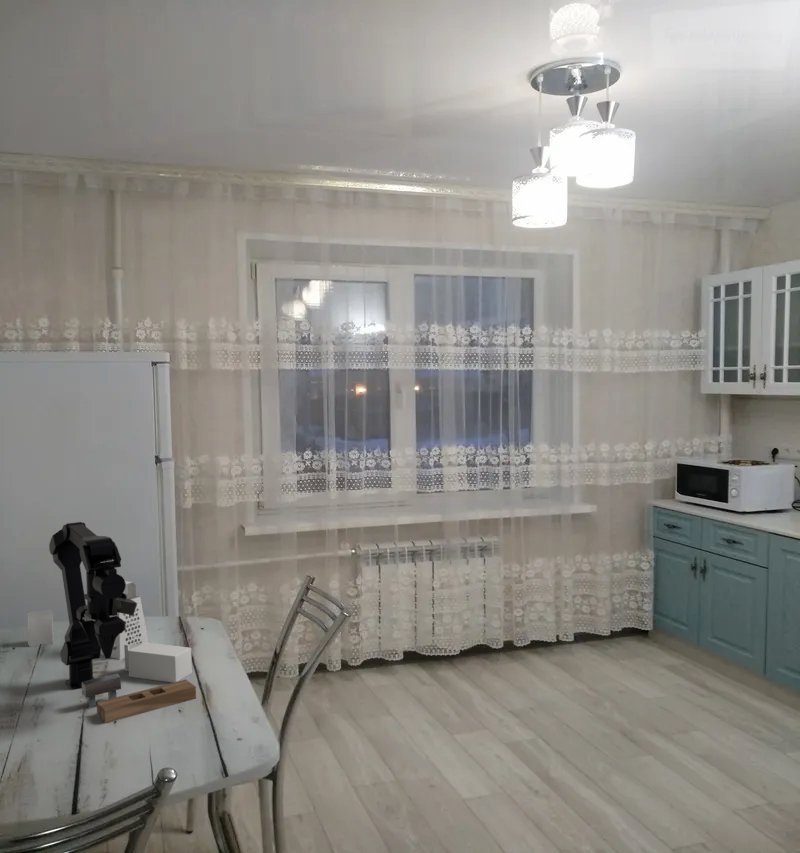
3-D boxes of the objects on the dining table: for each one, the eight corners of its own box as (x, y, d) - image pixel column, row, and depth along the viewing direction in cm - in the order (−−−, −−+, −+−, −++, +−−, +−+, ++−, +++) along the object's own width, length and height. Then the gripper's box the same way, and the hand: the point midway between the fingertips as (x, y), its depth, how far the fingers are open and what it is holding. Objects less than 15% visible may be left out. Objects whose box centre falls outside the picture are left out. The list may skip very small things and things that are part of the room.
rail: (97, 714, 184) (96, 702, 184) (186, 691, 198) (185, 679, 198) (105, 723, 179) (104, 710, 179) (195, 698, 193) (195, 686, 193)
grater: (149, 648, 230) (147, 581, 229) (120, 659, 221) (117, 590, 220) (126, 642, 236) (124, 577, 235) (96, 653, 227) (94, 585, 226)
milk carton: (175, 656, 203) (115, 649, 209) (176, 683, 203) (116, 675, 209) (191, 647, 209) (133, 640, 216) (192, 673, 210) (134, 666, 216)
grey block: (82, 706, 189) (81, 681, 189) (117, 697, 194) (116, 673, 194) (86, 710, 187) (85, 685, 187) (121, 700, 192) (120, 676, 192)
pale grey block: (52, 644, 236) (51, 611, 235) (28, 647, 233) (26, 614, 233) (53, 640, 239) (52, 608, 239) (29, 643, 237) (28, 610, 236)
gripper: (146, 592, 187) (148, 656, 188) (119, 577, 201) (121, 636, 202) (98, 600, 180) (101, 666, 181) (74, 584, 195) (77, 646, 195)
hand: (101, 653), depth 190 cm, fingers open, 9 cm apart
